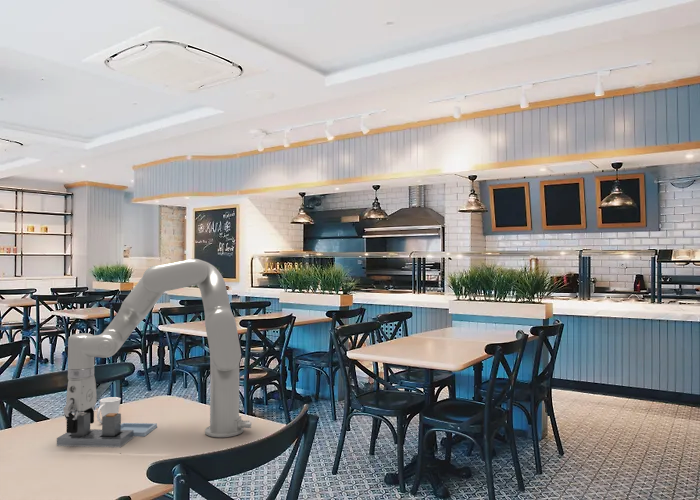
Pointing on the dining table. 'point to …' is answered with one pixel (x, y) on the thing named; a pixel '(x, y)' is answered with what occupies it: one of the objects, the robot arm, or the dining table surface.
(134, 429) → the tray
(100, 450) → the dining table surface
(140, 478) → the dining table surface
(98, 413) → the cup
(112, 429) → the grey socket
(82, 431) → the plug
